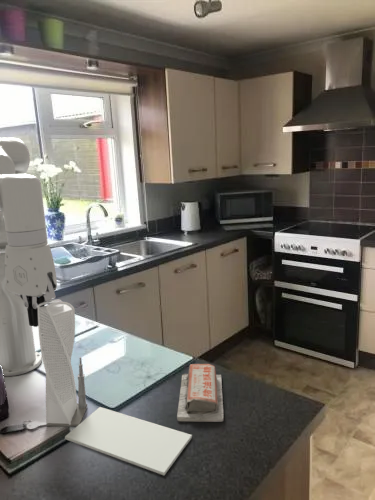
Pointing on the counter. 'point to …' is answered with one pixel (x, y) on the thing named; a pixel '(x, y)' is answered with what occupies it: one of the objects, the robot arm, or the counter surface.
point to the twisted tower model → (60, 364)
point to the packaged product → (201, 395)
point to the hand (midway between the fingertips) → (38, 323)
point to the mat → (130, 439)
